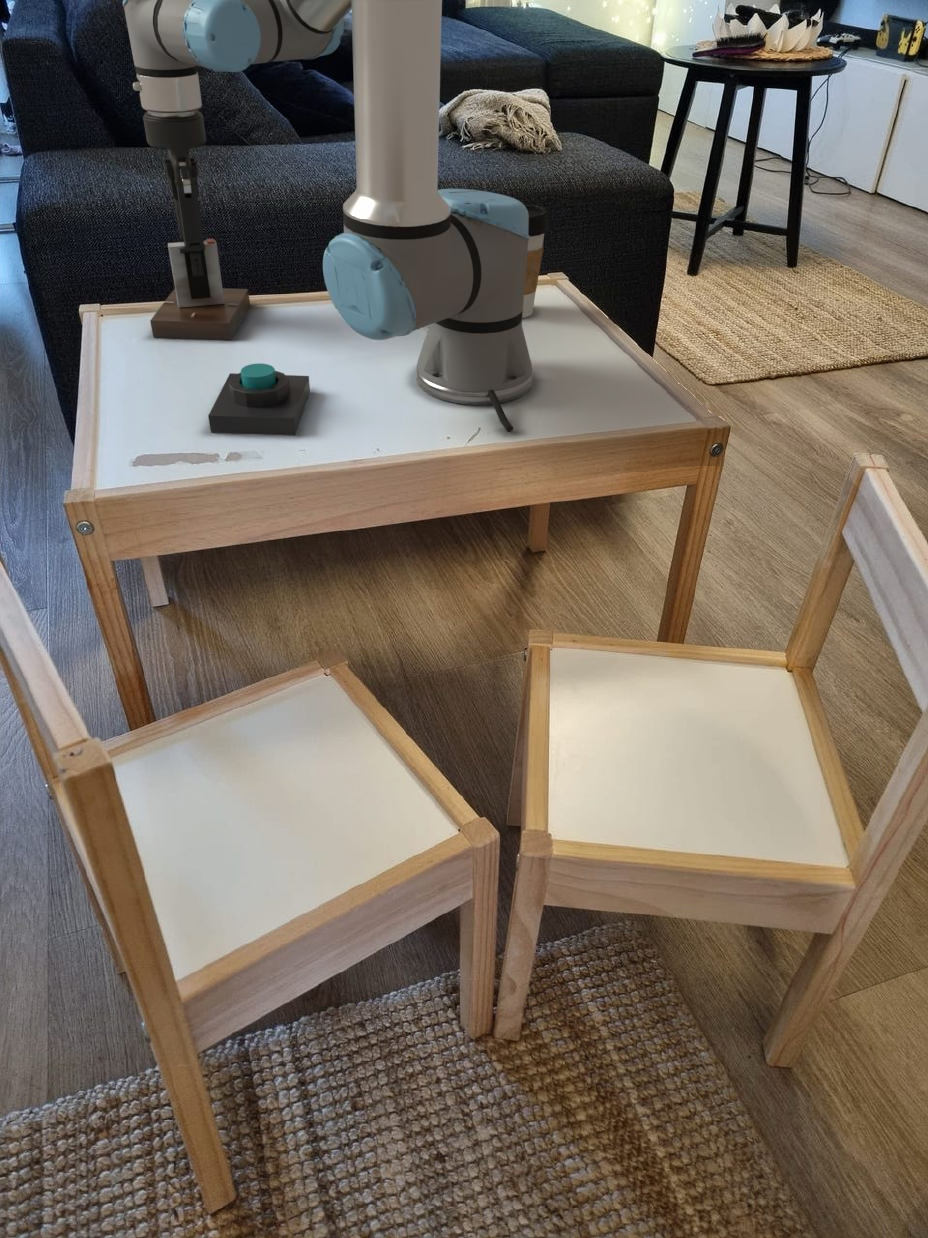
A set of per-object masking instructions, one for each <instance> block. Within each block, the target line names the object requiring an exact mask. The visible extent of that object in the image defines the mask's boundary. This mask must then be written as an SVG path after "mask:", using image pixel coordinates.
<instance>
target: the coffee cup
mask: <svg viewBox="0 0 928 1238" xmlns="http://www.w3.org/2000/svg"><path fill="white" fill-rule="evenodd" d="M524 206H525V207H526V209H527V210H528V214H529V225H528V234H529V236H530V239H529V240H528V250H527V263H526V276H525V289H524V302H523V315H522V319H525V318H528V317H531V316H532V314H533V311H534V306H535V298H536V292H537V287H538V283H539V282H538V281H539V276H540V271H541V264H542V259H543V253H544V248H545V247H544V246H545V244H544V237H545V234H547V232H548V227H549V223H548V209H546V208H545V207H544V206H541V205H535V204H524Z"/></svg>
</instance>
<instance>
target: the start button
mask: <svg viewBox="0 0 928 1238" xmlns="http://www.w3.org/2000/svg"><path fill="white" fill-rule="evenodd" d="M275 371H276V369H275V367H274V366H272V365H271V364H267V363H260V362H259V363H250V364H247V365H244V366H243V367H242V368H241V369H240V372H241V378H242V385H243V387H246V388H249V389H264V388H269V387H272V386H274V385H276V377H275Z"/></svg>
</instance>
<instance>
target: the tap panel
mask: <svg viewBox="0 0 928 1238" xmlns="http://www.w3.org/2000/svg"><path fill="white" fill-rule="evenodd" d="M222 288H223V287H222ZM223 296H224V304H216V305H205V306H193V307H182V308H179V306H178V303H177V297H176V291H175V288H174V289H172V291H171V293H170V294H169V295H168V297H167V298H166V299H165V300H164V302H163V303H162V305H160V307H159V308H158V310H157V311H156V312H155V314H154V315H153V316H152V318H151V319H150V320H149V322H150V327H151V333H152V338H154V339H180V340H181V339H182V340H183V339H184V340H208V341H209V340H214V341H232V339H233V337H234V335H235V334H236V332H237V330H238V328H239V326H240V324H241V323H242V321H243V319H244V318H245V315H246V314H247V312H248V310H249V308H250V306H251V301H250V293H249V289H248V288H227V287H226V288H225V287H224V288H223Z"/></svg>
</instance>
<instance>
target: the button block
mask: <svg viewBox="0 0 928 1238" xmlns="http://www.w3.org/2000/svg"><path fill="white" fill-rule="evenodd" d="M275 377H276V385H274V386H272V387H269V388H264V389H249V388H246V387H243V385H242V378H241V371H240V372H238V373H235V372H233V373H232V372H231V373H229V374H228V376H227V379H226V380H225V382H224V384H223V386H222V388H221V389H220V392H219V394H218V396H217V398H216V399H215V402H214V404H213V405H212V407H211V410H210V411H209V413H208V424H209V429H210V433H213V434H214V433H215V434H217V433H218V434H245V435H246V434H247V435H250V434H251V435H275V436H276V435H279V436H280V435H281V436H296V435H297V431H298V429H299V426H300V423H301V419H302V417H303V414H304V411H305V408H306V405H307V402H308V399H309V396H310V393H311V386H310V385H311V384H310V376H309V375H292V374H291V375H289V374H286V373H284V372H280V371H278V370H275Z"/></svg>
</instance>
